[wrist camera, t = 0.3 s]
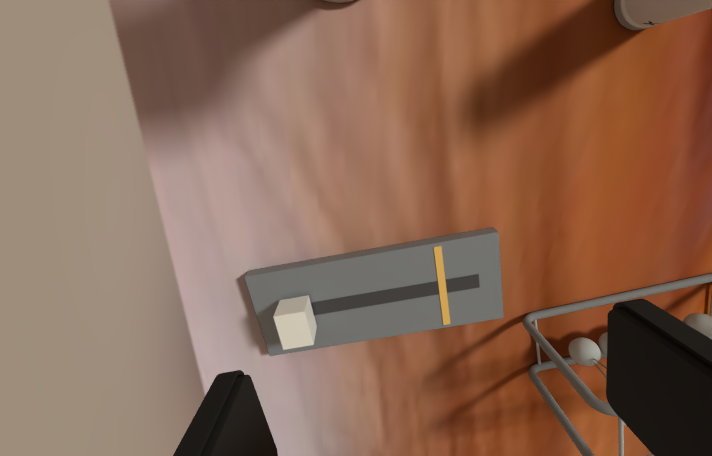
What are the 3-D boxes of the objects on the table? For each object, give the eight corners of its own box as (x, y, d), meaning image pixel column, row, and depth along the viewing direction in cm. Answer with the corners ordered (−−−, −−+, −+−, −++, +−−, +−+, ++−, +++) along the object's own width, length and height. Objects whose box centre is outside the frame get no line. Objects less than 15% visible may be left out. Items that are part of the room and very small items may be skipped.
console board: (248, 270, 47) (244, 277, 45) (492, 227, 45) (498, 232, 43) (272, 347, 51) (269, 356, 49) (497, 310, 49) (503, 318, 47)
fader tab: (280, 299, 46) (273, 316, 42) (308, 294, 46) (304, 311, 42) (289, 330, 47) (283, 349, 43) (316, 325, 47) (313, 344, 43)
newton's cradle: (523, 370, 53) (602, 488, 36) (516, 313, 50) (600, 414, 33) (722, 329, 51) (906, 433, 34) (728, 267, 48) (934, 349, 31)
